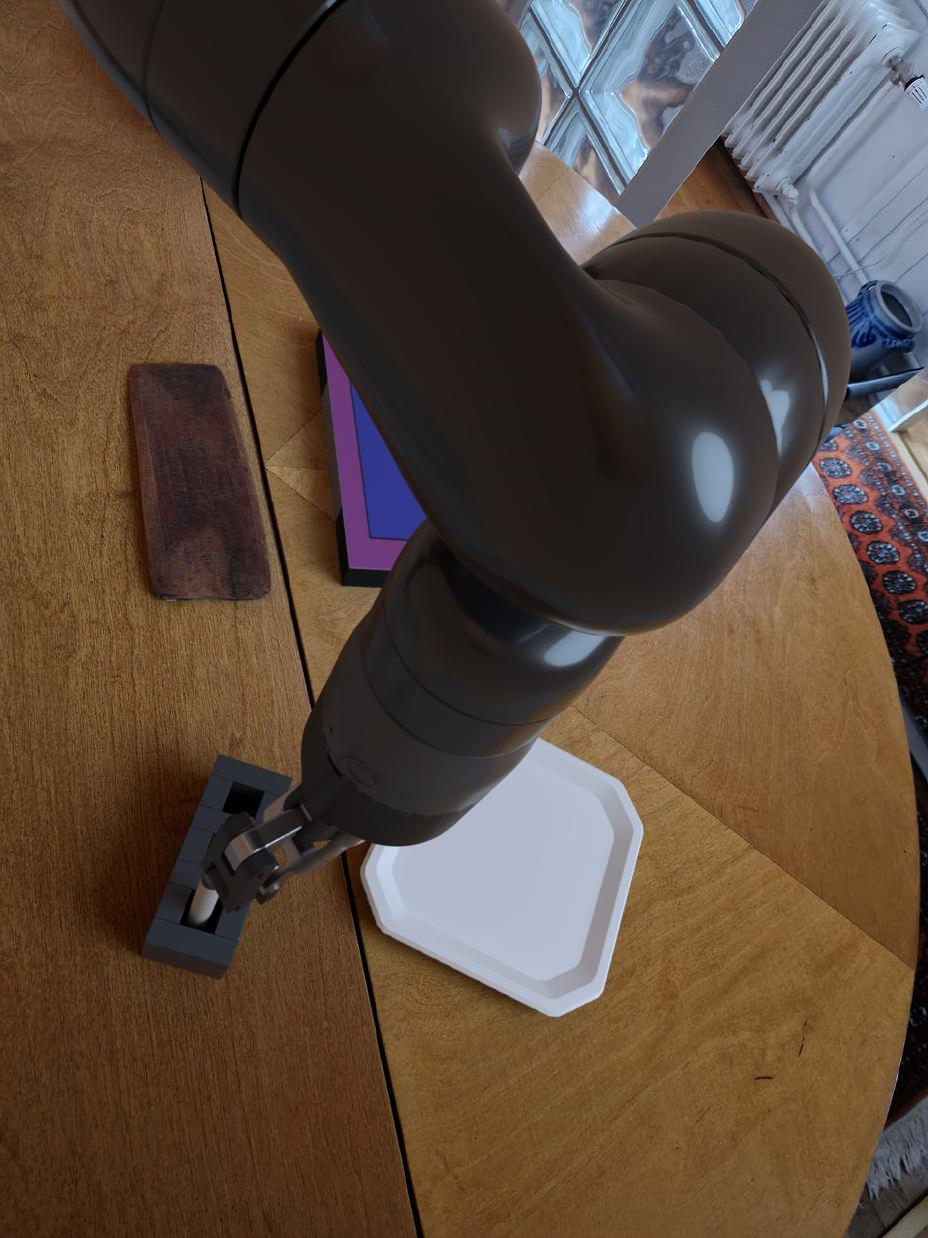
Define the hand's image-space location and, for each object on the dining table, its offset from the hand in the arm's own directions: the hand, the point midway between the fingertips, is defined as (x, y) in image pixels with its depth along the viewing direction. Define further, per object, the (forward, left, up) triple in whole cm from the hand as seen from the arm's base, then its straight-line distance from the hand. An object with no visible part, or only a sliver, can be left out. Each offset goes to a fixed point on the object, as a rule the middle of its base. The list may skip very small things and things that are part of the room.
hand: (328, 841), depth 46 cm
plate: (+17, +11, -21) cm, 29 cm away
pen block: (-4, +3, -21) cm, 22 cm away
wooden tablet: (-18, +35, -21) cm, 45 cm away
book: (+2, +48, -21) cm, 52 cm away
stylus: (-5, -1, -21) cm, 22 cm away
